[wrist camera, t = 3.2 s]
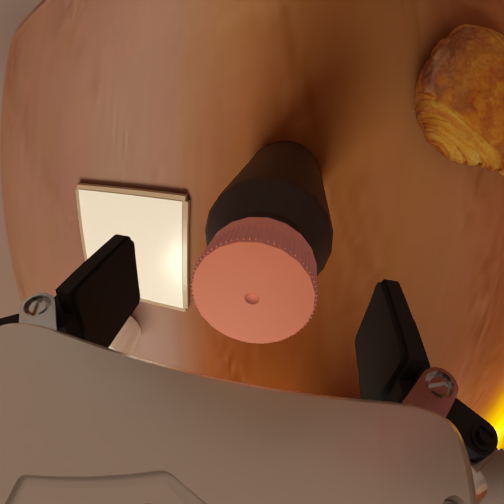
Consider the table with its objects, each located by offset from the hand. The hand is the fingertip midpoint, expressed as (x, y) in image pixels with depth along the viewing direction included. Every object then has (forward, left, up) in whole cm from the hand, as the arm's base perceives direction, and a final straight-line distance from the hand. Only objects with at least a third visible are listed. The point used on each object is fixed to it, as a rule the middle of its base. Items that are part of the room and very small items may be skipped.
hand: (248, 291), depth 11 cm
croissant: (-18, -12, -21) cm, 30 cm away
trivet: (+17, +11, -20) cm, 29 cm away
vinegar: (0, 0, -20) cm, 20 cm away
